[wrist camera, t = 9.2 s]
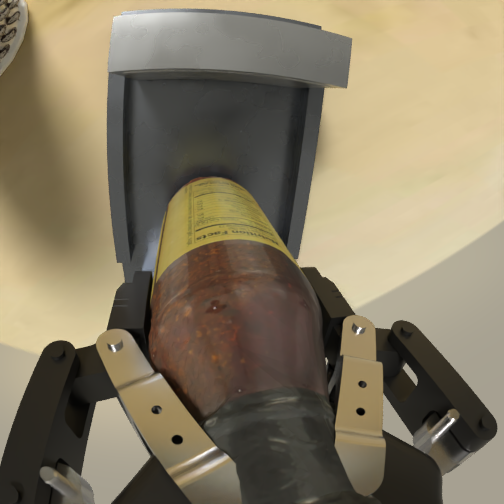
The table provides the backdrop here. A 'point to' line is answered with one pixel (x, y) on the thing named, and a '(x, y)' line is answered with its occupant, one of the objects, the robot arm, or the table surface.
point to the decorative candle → (11, 29)
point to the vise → (206, 150)
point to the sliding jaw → (227, 50)
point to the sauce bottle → (246, 346)
